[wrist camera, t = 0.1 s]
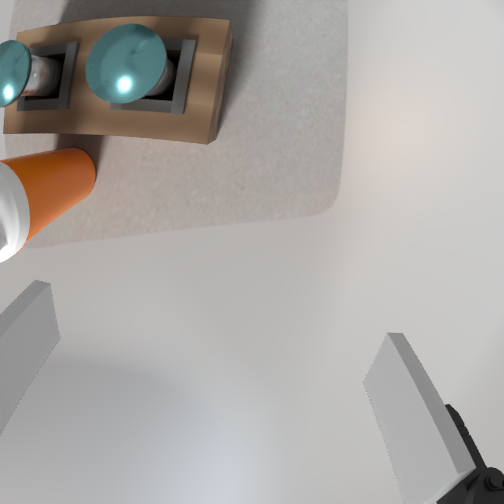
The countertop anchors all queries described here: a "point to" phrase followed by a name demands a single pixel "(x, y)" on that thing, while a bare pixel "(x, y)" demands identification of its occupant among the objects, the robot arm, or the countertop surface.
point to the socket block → (140, 111)
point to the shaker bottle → (40, 192)
